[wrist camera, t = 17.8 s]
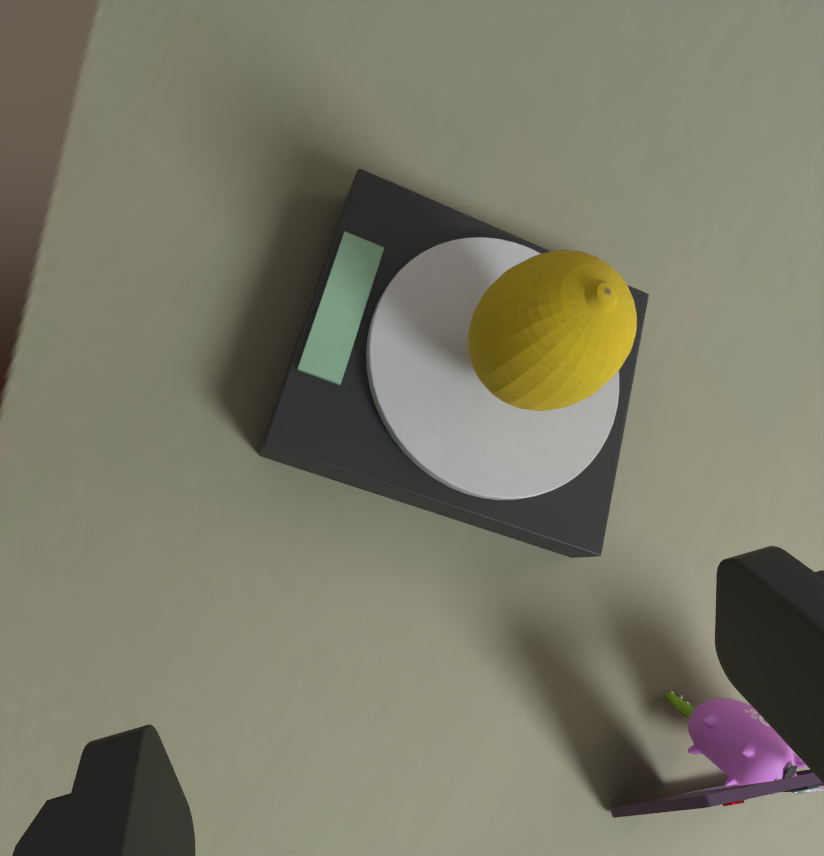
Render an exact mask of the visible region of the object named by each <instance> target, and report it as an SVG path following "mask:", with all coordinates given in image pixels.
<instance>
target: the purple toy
mask: <svg viewBox="0 0 824 856" xmlns="http://www.w3.org/2000/svg"><path fill="white" fill-rule="evenodd" d="M682 698H683V697H682V694H681V696H680V697H677V696H675V694H674V692H672V691H671V692H670V693H667V695H666V699H667V700H668V701H669V702H670V703H671V704H672V705H673V706H674V707H676V708H677V709H678V710H679V711H680V712H681V713H682V714H683V715H685V716H686V717H687V718H688V720H689V724H688V729H689V734H690V736H691V739H692V740H693V743H694V745H693V746H692V747H690V748H689V749H688V752H689V753H692V754H699V753H700V754H704V755H705V756H706V757H707V758H708V759H710V760H711V761H712V762H713V763H714V764H715V765H716V766H718V767H719V768H720V769H721V770H722V771H723V772H724V773H725V774H726V775H727V776H728V778H727V780H726V782H725V785H721V786H716V787H711V788H706V789H701V790H696V791H691V792H686V793H681V794H676V795H671V796H666V797H661V798H656V799H651V800H646V801H641V802H636V803H631V804H626V805H621V806H616V807H611V812H612V816H613V817H623V816H632V815H641V814H651V813H660V812H669V811H678V810H688V809H697V808H705V807H711V806H716V805H720V804H723V806H727V805H734V804H739V803H744V801H743V800H747V799H749V798H754V797H758V796H763V795H768V794H775V793H777V792H790V791H791V792H794V793H795V794H801V793H809V792H818V791H824V788H821V789H815V788H819V786H824V783H823V782H822V781H821V780H820V779H819V778H818V777H817V776H816V775H815V774H814V773H813V772H812V770H811V769H810V770H803V771H797V772H795V771H796V769H797V767H806V766H807V765H806V764H805V763H804V762H803V761H802V760H801V759H800V757H799V756H798V755H795V754H794V753H793V751H792V749H791V748H790V747H789V746H788V744H787V743H786V742H785V741H784V740H783V739H782V738H781V737H780V736H779V735H778V734H777V733H776V731H775V730H774V729H773V728H772V727H771V726H770V725H769V724H768V723H767V722H766V721H765V720H764V718H763V717H762V716H761V715H760V714H759V713H758V712H757V711H756V710H755V709H754V708H753V707H752V706H751V705H748V704H746V703H743V702H740V701H736V700H732V699H725V698H718V699H712V700H708V701H706V702H704V703H702V704H700V705H699V706H697V707H692V706H690V704H689V702H688V701H687V702H684V701H683V700H682ZM810 789H812V790H810Z"/></svg>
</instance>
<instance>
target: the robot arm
mask: <svg viewBox="0 0 824 856" xmlns="http://www.w3.org/2000/svg"><path fill="white" fill-rule="evenodd" d="M715 647H716V652H717V656H718V659H719V662H720V664H721V666H722V668H723V670H724V672H725V674H726V676H727V677H728V679H729V680H730V682H731V683H732V685H733V686H734V687H735V688H736V689H737V690H738V691H739V692H740V694H741V695H742V696H743V697H744V698H745V699H746V700H747V701H748V702H749V703H750V704H751V705H752V707H753V708H754V709H755V710H756V711H757V712H758V713H759V714H760V715H761V716H762V717H763V718H764V720H765V721H766V722H767V723H768V724H769V725H770V726H771V727H772V728H773V729H774V730H775V731H776V733H777V734H778V735H779V736H780V737H781V738H782V739H783V740H784V741H785V742H786V743H787V744H788V746H789V747H790V748H791V749H792V750H793V751H794V752H795V753H796V754H797V755H798V756H799V757H800V759H801V760H802V761H803V762H804V763H805V764H806V765H807V766H808V767H809V768H810V769H811V770H812V772H813V773H814V774H815V775H816V776H817V777H818V778H819V779H820V780H821V781H822V782H823V783H824V571H822V570H821V571H818V572H814V571H812V570H811V569H809V568H808V567H807V566H805V565H804V564H803V563H801V562H800V561H798V560H797V559H796V558H794V557H793V556H792V555H790V554H789V553H787V552H786V551H784V550H783V549H781V548H779V547H775V546H769V547H766V548H762V549H759V550H755V551H752V552H748V553H745V554H741V555H738V556H735V557H731V558H728V559H725V560H723V561H721V562H720V564H719V566H718V569H717V587H716V622H715ZM12 856H195V835H194V827H193V821H192V816H191V812H190V808H189V805H188V802H187V800H186V798H185V795H184V793H183V791H182V788H181V786H180V783H179V781H178V779H177V776H176V774H175V772H174V769H173V767H172V765H171V762H170V760H169V758H168V755H167V753H166V751H165V748H164V746H163V744H162V741H161V739H160V737H159V734H158V732H157V731H156V729H155V728H154V727H153V726H152V725H146V726H142V727H139V728H135V729H132V730H128V731H125V732H122V733H118V734H115V735H111V736H108V737H104V738H101V739H97V740H94V741H91V742H89V743H88V744H87V745H86V746H85V748H84V750H83V753H82V756H81V759H80V763H79V766H78V770H77V774H76V778H75V781H74V785H73V789H72V792H71V793H70V794H67V795H64V796H60V797H57V798H54V799H50V800H47V801H46V803H45V804H44V806H43V807H42V808H41V810H40V811H39V813H38V814H37V816H36V817H35V819H34V820H33V822H32V823H31V824H30V826H29V827H28V829H27V830H26V832H25V833H24V835H23V836H22V837H21V839H20V840H19V842H18V843H17V845H16V846H15V849H14V852H13V855H12Z"/></svg>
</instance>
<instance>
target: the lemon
mask: <svg viewBox="0 0 824 856" xmlns="http://www.w3.org/2000/svg"><path fill="white" fill-rule="evenodd" d="M636 329H637V314H636V309H635V304H634V299H633V297H632V295H631V292H630V290H629V288H628V286H627V284H626V283H625V281H624V280H623V279H622V277H621V276H620V275H619V274H618V273H617V272H616V271H615V270H614V269H613V268H612V267H611V266H610V265H609V264H607V263H605V262H604V261H602V260H600V259H599V258H597V257H595V256H592V255H589V254H586V253H583V252H579V251H568V250H559V251H553V252H548V253H543V254H539V255H536V256H533V257H531V258H529V259H527V260H525V261H523V262H521V263H519V264H517V265H515V266H514V267H512V268H510V269H508V270H507V271H506V272H504V273H503V274H502V275H501V276H500V277H499V278H498V279H497V280H496V281H495V282H494V283H493V284H492V285H491V286H490V287H489V288H488V289H487V290H486V291H485V293H484V294H483V296H482V298H481V299H480V301H479V303H478V305H477V307H476V309H475V310H474V312H473V315H472V319H471V323H470V328H469V332H468V348H469V355H470V359H471V363H472V366H473V368H474V370H475V372H476V374H477V376H478V378H479V380H480V381H481V382H482V383H483V385H484V386H485V387H486V388H487V389H488V390H489V391H490V393H492V394H493V395H494V396H496V397H497V398H499V399H500V400H501V401H503V402H505V403H507V404H510V405H512V406H515V407H517V408H520V409H526V410H534V411H546V410H553V409H561V408H565V407H568V406H570V405H573V404H575V403H577V402H579V401H582V400H584V399H586V398H588V397H590V396H591V395H593V394H594V393H595V392H597V391H598V390H599V389H600V388H601V387H602V386H604V385H605V384H606V383H607V382H608V381H609V380H610V379H611V378H612V377H613V376H614V375H615V374H616V373H617V372H618V371H619V369H620V368H621V366H622V365H623V363H624V362H625V360H626V358H627V357H628V355H629V353H630V351H631V349H632V346H633V342H634V339H635V335H636Z"/></svg>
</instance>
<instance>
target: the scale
mask: <svg viewBox="0 0 824 856" xmlns="http://www.w3.org/2000/svg"><path fill="white" fill-rule="evenodd" d="M548 252H550V251H548V250H546V249H543V248H541V247H539V246H537V245H534V244H532V243H530V242H527V241H525V240H523V239H521V238H518V237H516V236H514V235H511V234H509V233H507V232H504V231H502V230H500V229H498V228H495V227H493V226H491V225H488V224H486V223H484V222H482V221H479V220H477V219H475V218H472V217H470V216H468V215H465V214H463V213H461V212H459V211H456V210H454V209H452V208H449V207H447V206H445V205H443V204H440V203H438V202H436V201H433V200H431V199H429V198H426V197H424V196H422V195H420V194H417V193H415V192H413V191H410V190H408V189H406V188H404V187H401V186H399V185H397V184H394V183H392V182H390V181H387V180H385V179H383V178H381V177H378V176H376V175H374V174H371V173H369V172H367V171H365V170H362V169H358V170H357V173H356V176H355V178H354V181H353V183H352V186H351V188H350V191H349V194H348V196H347V199H346V202H345V205H344V208H343V210H342V213H341V216H340V219H339V222H338V225H337V228H336V231H335V234H334V236H333V239H332V242H331V245H330V248H329V251H328V254H327V257H326V260H325V262H324V265H323V268H322V271H321V274H320V277H319V280H318V283H317V286H316V288H315V291H314V294H313V297H312V300H311V303H310V306H309V309H308V312H307V314H306V317H305V320H304V323H303V326H302V329H301V332H300V335H299V338H298V340H297V343H296V346H295V349H294V352H293V355H292V358H291V361H290V364H289V367H288V369H287V372H286V375H285V378H284V381H283V384H282V387H281V390H280V393H279V395H278V398H277V401H276V404H275V407H274V410H273V413H272V416H271V419H270V421H269V424H268V427H267V430H266V433H265V436H264V439H263V442H262V445H261V447H260V450H259V455H260V456H262V457H265V458H268V459H271V460H274V461H277V462H280V463H283V464H287V465H290V466H293V467H296V468H299V469H302V470H305V471H308V472H311V473H314V474H317V475H320V476H323V477H326V478H329V479H333V480H336V481H339V482H342V483H345V484H348V485H351V486H354V487H357V488H360V489H363V490H366V491H369V492H372V493H375V494H379V495H382V496H385V497H388V498H391V499H394V500H397V501H400V502H403V503H406V504H409V505H412V506H415V507H418V508H421V509H425V510H428V511H431V512H434V513H437V514H440V515H443V516H446V517H449V518H452V519H455V520H458V521H461V522H464V523H467V524H470V525H474V526H477V527H480V528H483V529H486V530H489V531H492V532H495V533H498V534H501V535H504V536H507V537H510V538H513V539H516V540H520V541H523V542H526V543H529V544H532V545H535V546H538V547H541V548H544V549H547V550H550V551H553V552H556V553H559V554H562V555H566V556H569V557H572V558H574V557H593V556H600V555H601V552H602V547H603V541H604V536H605V530H606V525H607V519H608V514H609V508H610V503H611V498H612V492H613V487H614V481H615V476H616V470H617V465H618V459H619V454H620V449H621V443H622V438H623V432H624V427H625V421H626V416H627V411H628V405H629V400H630V394H631V389H632V383H633V378H634V372H635V367H636V362H637V356H638V351H639V345H640V340H641V334H642V329H643V323H644V318H645V313H646V307H647V302H648V296H649V295H648V294H647V293H644V292H642V291H640V290H638V289H635V288H633V287H631V286H628V285H627V286H628V288H629V290H630V292H631V295H632V297H633V299H634V304H635V309H636V314H637V329H636V335H635V339H634V342H633V346H632V349H631V351H630V353H629V355H628V357H627V358H626V360H625V362H624V363H623V365H622V366H621V368H620V369H619V371H618V372H617V373H616V374H615V375H614V376H613V377H612V378H611V379H610V380H609V381H608V382H607V383H606V384H605V385H604V386H602V387H601V388H600V389H599V390H598V391H597V392H595V393H594V394H593V395H591V396H590V397H588V398H586V399H584V400H582V401H579V402H577V403H575V404H573V405H570V406H568V407H565V408H561V409H553V410H546V411H534V410H526V409H520V408H517V407H515V406H512V405H510V404H507V403H505V402H503V401H501V400H500V399H499V398H497V397H496V396H494V395H493V394H492V393H490V391H489V390H488V389H487V388H486V387H485V386H484V385H483V383H482V382H481V381H480V380H479V378H478V376H477V374H476V372H475V370H474V368H473V366H472V363H471V359H470V355H469V348H468V332H469V328H470V323H471V319H472V315H473V312H474V310H475V309H476V307H477V305H478V303H479V301H480V299H481V298H482V296H483V294H484V293H485V291H486V290H487V289H488V288H489V287H490V286H491V285H492V284H493V283H494V282H495V281H496V280H497V279H498V278H499V277H500V276H501V275H502V274H503V273H504V272H506V271H507V270H508V269H510V268H512V267H514V266H515V265H517V264H519V263H521V262H523V261H525V260H527V259H529V258H531V257H533V256H536V255H539V254H543V253H548Z"/></svg>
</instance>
